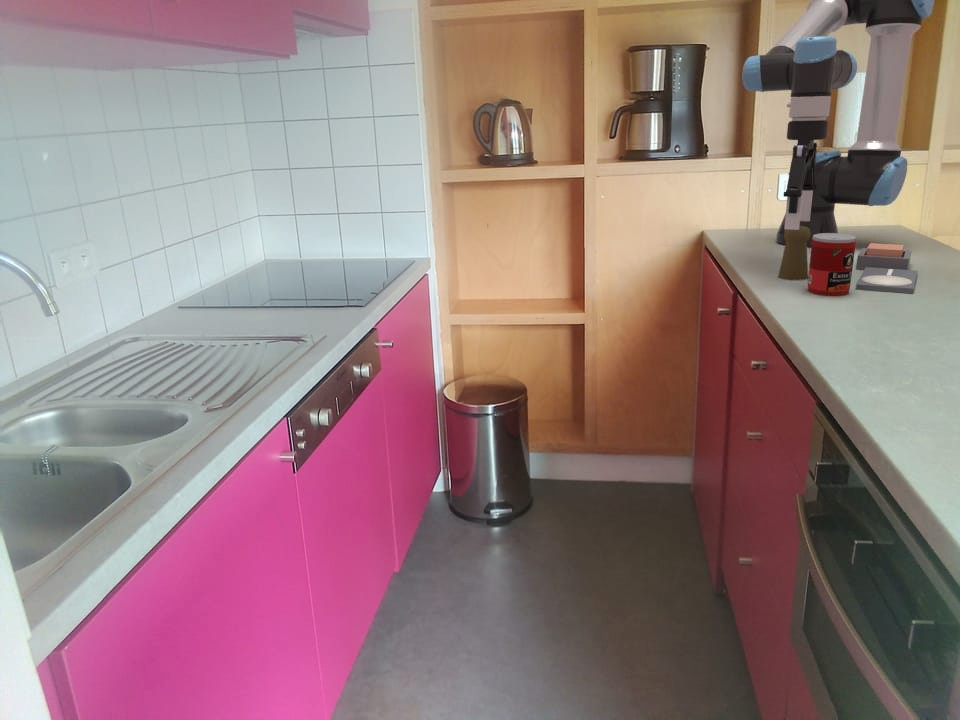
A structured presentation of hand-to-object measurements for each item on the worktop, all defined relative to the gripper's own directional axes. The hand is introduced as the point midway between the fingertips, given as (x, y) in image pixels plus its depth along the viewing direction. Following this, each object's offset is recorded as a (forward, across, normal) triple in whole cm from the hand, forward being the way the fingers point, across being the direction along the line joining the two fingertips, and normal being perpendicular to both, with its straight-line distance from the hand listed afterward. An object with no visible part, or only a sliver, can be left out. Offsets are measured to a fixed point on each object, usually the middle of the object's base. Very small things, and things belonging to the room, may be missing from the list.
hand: (797, 225), depth 161 cm
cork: (+11, 0, 0) cm, 11 cm away
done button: (+9, -18, +16) cm, 26 cm away
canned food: (+12, +10, +8) cm, 18 cm away
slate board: (+11, -2, +18) cm, 21 cm away
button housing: (+11, -18, +16) cm, 27 cm away
